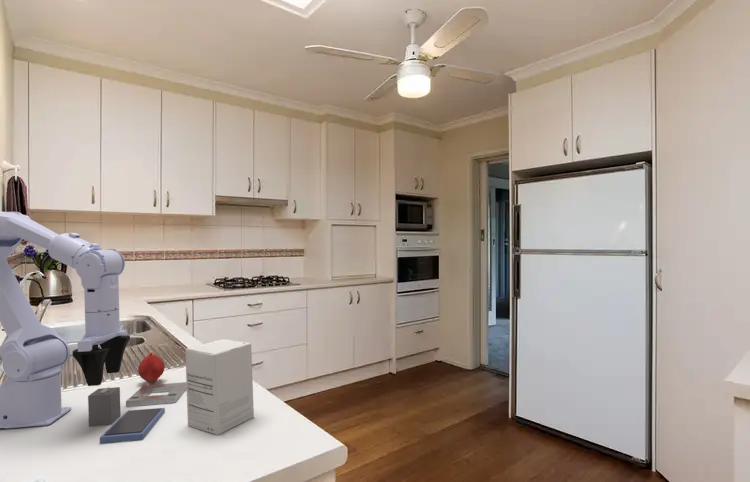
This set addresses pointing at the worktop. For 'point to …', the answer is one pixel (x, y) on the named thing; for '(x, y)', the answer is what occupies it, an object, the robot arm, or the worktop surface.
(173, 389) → the plate
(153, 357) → the onion
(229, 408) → the supplement box
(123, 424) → the phone
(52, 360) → the robot arm
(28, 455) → the worktop surface
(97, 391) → the block
